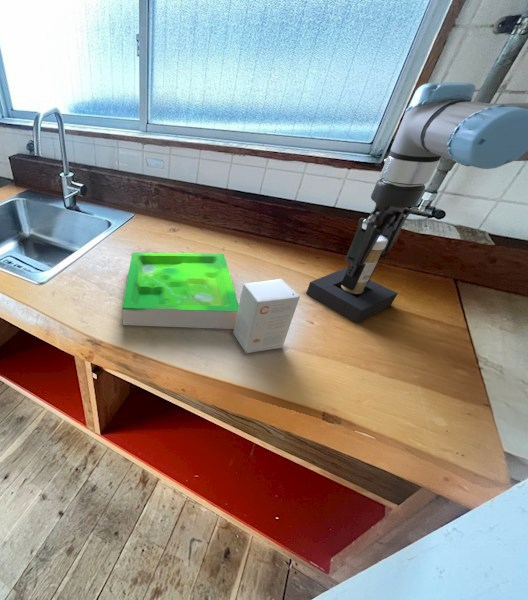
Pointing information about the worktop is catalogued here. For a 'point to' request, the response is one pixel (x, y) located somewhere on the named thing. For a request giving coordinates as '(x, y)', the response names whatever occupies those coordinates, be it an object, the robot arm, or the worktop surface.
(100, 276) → the worktop surface
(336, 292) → the dark grey square frame
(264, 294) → the small box
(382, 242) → the sprinkles bottle
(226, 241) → the worktop surface
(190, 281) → the green board game box
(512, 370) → the worktop surface
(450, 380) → the worktop surface
